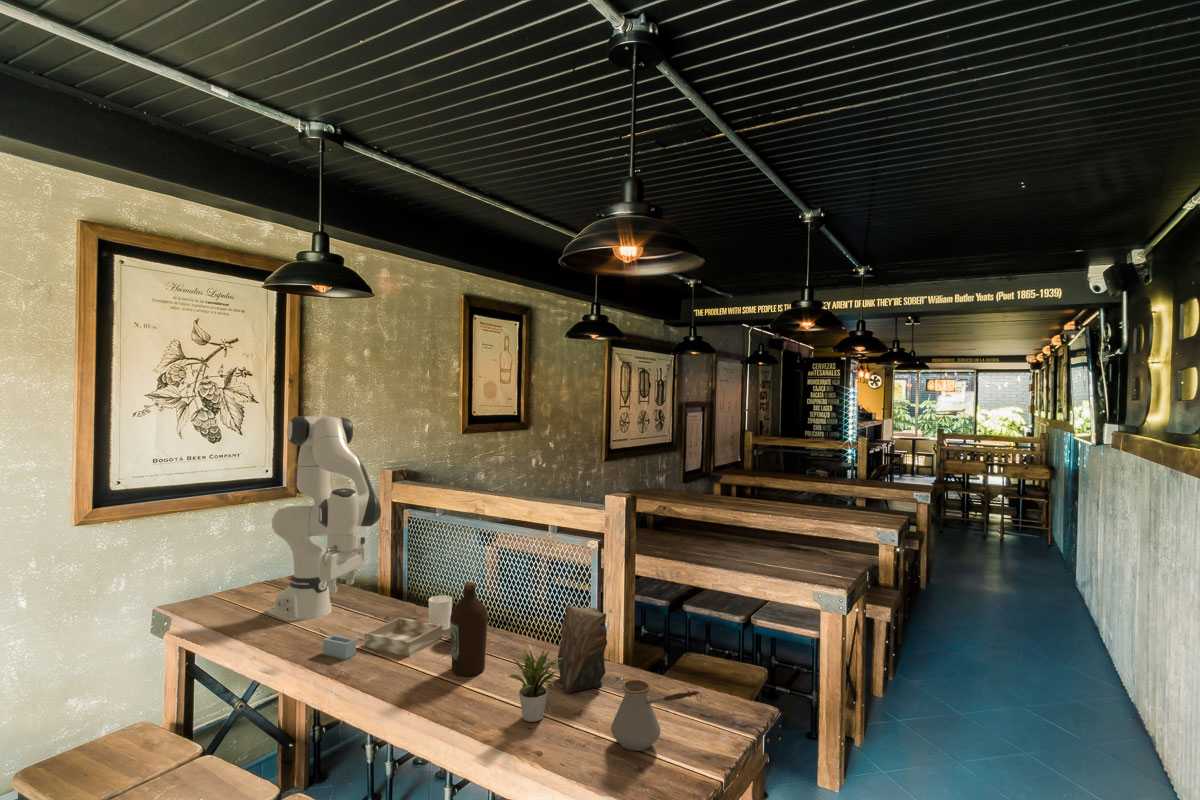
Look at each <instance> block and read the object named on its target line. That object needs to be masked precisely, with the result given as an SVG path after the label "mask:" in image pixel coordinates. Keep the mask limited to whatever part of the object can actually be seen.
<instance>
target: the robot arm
mask: <svg viewBox="0 0 1200 800" xmlns="http://www.w3.org/2000/svg"><path fill="white" fill-rule="evenodd" d="M354 431H355V428H354V424H353V422H352V420H351V419H349V418H347V417H343V416H340V417H338V416H337V417H336V416H329V415H320V416H319V415H311V416H309V415H307V416H304V415H298V416H293V417H292V418H291V419H290V420H289V422H288V425H287V427H286V436H287V439H288V441H289V442H290V443H291V444H292V445H294V446H299V447H300V448H299V452H298V459H297V468H296V469H297V473H296V488H297V490H298V491H299V492H300V493H301V494H303V495H305V496H307V497H309V498H312V500H313V502H314V504H313V505H291V506H286V507H281V508H278V509H277V510H276V511H275V513H274V514H273V517H272V518H271V519H272V520H271V527H272V530H273V532H274V533H275V535H277V536H278V537H280V538H281V539H282V540H283V541H285V542H286V543H287V545H288V546H289V548H290V551H291V553H292V557H293V558H292V559H293V575H292V576H288V577H287V578H288V579H287V581H290V583H289V585H288V587H286V588H285V589H284V590H283V591H281V592H280V593H278V594H277V595H276V597H275V601H274V606H273V607H272V608H269V609H268V610H267V614H269V615H271V616H274V617H277V618H279V619H282V620H284V621H287V622H295V621H306V620H307V619H308V620H314V619H320V618H323V617H326V616H328V615H329V613H330V614H331V613H332V612H331V611H333V610H332V603H331V598H330V597H331V596H330V594H337V592H339V590H338V588H339V586H338V585H337V584H336V583H337V579H338V578H340V577H342V576H344V575H346V574H348V575H347V578H346V580H345V582H346V585H347V586H352V585H353V584H355V577H356V574H357V569H359V568H361V567H362V566H364V563H365V555H366V547H365V544H366V543H367V537H366V536H363V535H359V533H360V531H359V527H372V526H374V525H375V524H376V523H377V522H378V521H379V520H380V518H381V516H382V507H381V502H380V500H379V498H378V496H377V495H376V493H375V490H374V488H373V486H372V482H371V481H370V478H369V475H368V472H367V469H366V468H365V465H364V463H363V461H362V459H361V458H360V456H358V455H356V454H355V453H354V452H353V451H352V450H351V449H350V447H349V444H350V443H351V442H352V440H353V437H354ZM331 473H334V474H339V475H342V476H345V477H348V478H349V479H351V480H352V481H353V483H354V486H355V487H356V488H355V489H356V490H355V489H351V488H348V487H347V488H343V487H342V488H336V489H334V490H333V489H332V483H331ZM310 537H327V538H326V540H327V542H326V543H327V544H326V549H325V548H324V547H322V546H321V545H318V544H316V543H314V542H313V541H312V540H311V538H310ZM325 615H326V616H325ZM322 616H323V617H322ZM319 617H320V618H319Z"/></svg>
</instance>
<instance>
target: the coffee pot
mask: <svg viewBox="0 0 1200 800" xmlns="http://www.w3.org/2000/svg"><path fill="white" fill-rule="evenodd" d="M622 689H623V690H624V696H623V698H622V701H621V703H620V705H619V707H618V709H617V712H616V713H615V716H614V718H613V720H612V722H611V726H610V730H611V734H612V736H613V738H614V740H616V742H617V743H619V744H620V746H621V747H623V748H624V749H626V750H631V751H643V750H646V749H649V748H650V747H651V746H652V745H653V744H654V743H656V742H657V740H658V739H659V737H660V735H661V726H660V724H659V721H658V718H657V716H656V714H655V712H654V709H653V706H652V704H656V703H660V702H665V701H666V702H667V701H674V700H675V701H676V700H682V699H684V698H687V697H688V698H691V697H693V696H695V697H696V700H697V701H698V702H701V701H702V694H701V692H700V691H699V690H693V691H690V690H688V691H687V692H677V693H674V694H670V695H665V696H663V697H662V696H661V697H655V698H649V695H648V693H649V691H650V690H651V685H650V683H648V682H647V681H645V680H642V679H629V680H626V681H625V682H623V684H622ZM698 695H700V700H699V698H698Z"/></svg>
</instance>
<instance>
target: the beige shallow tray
mask: <svg viewBox="0 0 1200 800" xmlns="http://www.w3.org/2000/svg"><path fill="white" fill-rule="evenodd" d="M442 639H443V630H442V625H438V624H432V623H430V622H428V621H427V622H425V621H420V620H416V619H409V618H404V617H397V618H396V619H395V618H394V619H393V620H391V621H389V622H387V623H384V624H382V625H380V626H378V627H376V628H373V629H371V630H369V631H367V632H364V642H363V643H364V648H368V649H374V650H377V651H378V650H379V651H381V652H382V651H383V652H386V653H391V654H396V655H401V656H405V657H409V658H410V657H412V656H413V655H415V654H417V653H419V652H422V650H424V649H426V648H428V647H430V646H431V645H433V644H435V643H437V642H439V641H440V640H442Z"/></svg>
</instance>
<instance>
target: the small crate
mask: <svg viewBox="0 0 1200 800" xmlns="http://www.w3.org/2000/svg"><path fill="white" fill-rule="evenodd" d="M322 644H323V645H322V647H323V648H322V649H323V650H322V655H324V656H327V657H332V658H335V659H339V660H340V659H341V660H344V661H347V660H349V659H350V658H353V657H355V656H356V655H357V639H356V638H355V639H354V638H350V637H346V636H341V635H335V634H333V635H330V636H328V637H326V638H323V641H322Z"/></svg>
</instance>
